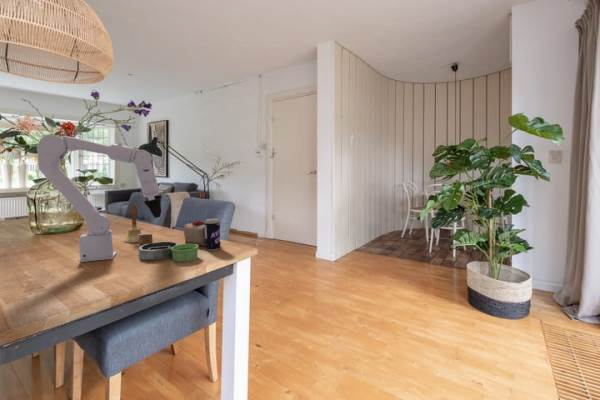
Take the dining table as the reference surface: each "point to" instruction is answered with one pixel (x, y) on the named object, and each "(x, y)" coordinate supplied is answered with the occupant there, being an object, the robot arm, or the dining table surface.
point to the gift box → (195, 233)
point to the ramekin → (185, 252)
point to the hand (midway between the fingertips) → (158, 215)
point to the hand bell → (133, 228)
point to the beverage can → (212, 234)
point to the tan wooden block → (145, 239)
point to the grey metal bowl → (156, 251)
